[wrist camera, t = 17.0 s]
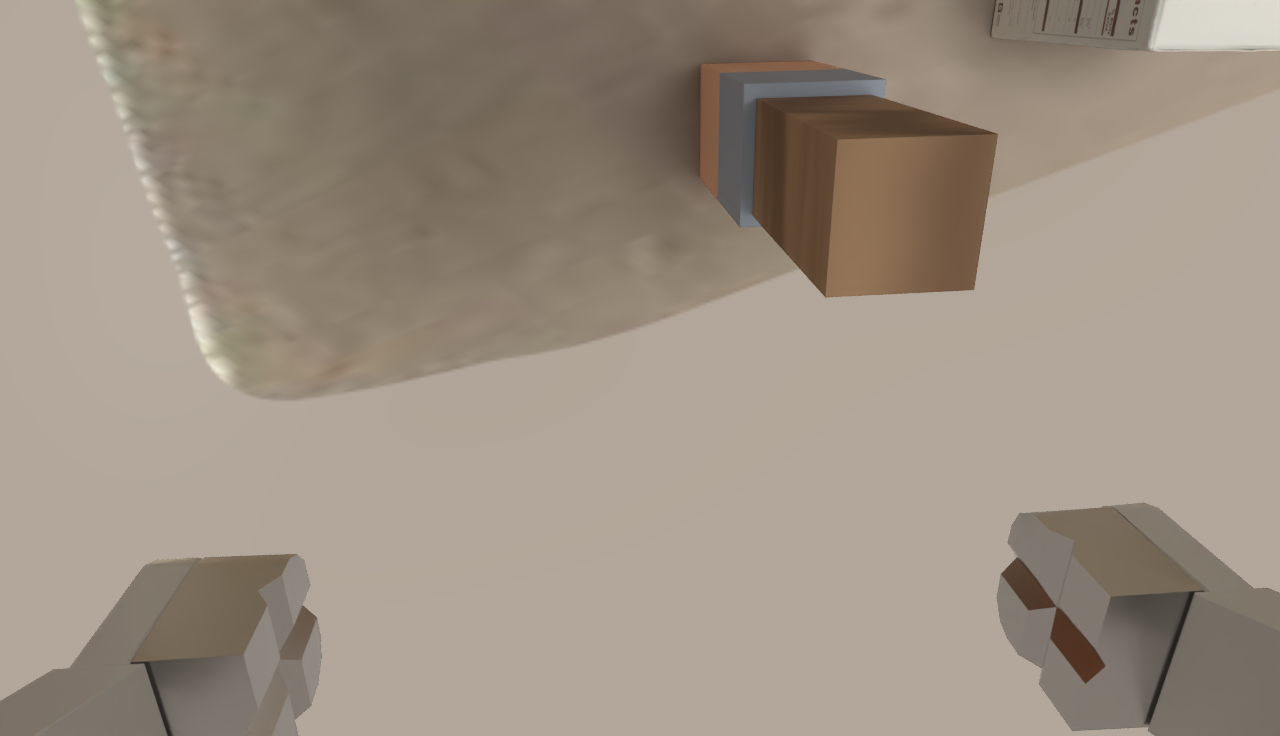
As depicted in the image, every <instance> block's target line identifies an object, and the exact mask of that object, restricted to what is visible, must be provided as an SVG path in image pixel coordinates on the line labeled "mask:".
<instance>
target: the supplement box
mask: <svg viewBox="0 0 1280 736" xmlns="http://www.w3.org/2000/svg"><path fill="white" fill-rule="evenodd" d="M991 36H992V37H993V38H997V39H1009V40H1024V41H1035V42H1045V43H1055V44H1066V45H1076V46H1086V47H1095V48H1105V49H1115V50H1129V51H1148V52H1187V51H1238V52H1253V51H1280V0H996V5H995V13H994V18H993V25H992V32H991Z"/></svg>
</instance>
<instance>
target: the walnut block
mask: <svg viewBox="0 0 1280 736" xmlns="http://www.w3.org/2000/svg"><path fill="white" fill-rule="evenodd" d="M997 137H998V134H996V133H993V132H990V131H987V130H984V129H980V128H977V127H974V126H971V125H967V124H964V123H961V122H958V121H955V120H951V119H948V118H945V117H942V116H939V115H935V114H932V113H929V112H926V111H923V110H919V109H916V108H913V107H910V106H906V105H903V104H900V103H897V102H894V101H890V100H887V99H884V98H881V97H878V96H874V95H847V96H815V97H783V98H756V124H755V151H754V178H753V205H752V216H753V217H754V218H755V219H756V220H757V221H758V222H759V224H760V225H761V226H762V227H763V228H764V229H765V230H766V231H767V232H768V234H769V235H770V236H771V237H772V238H773V239H774V240H775V241H776V243H777V244H778V245H779V246H780V247H781V248H782V249H783V250H784V252H785V253H786V254H787V255H788V256H789V257H790V258H791V259H792V260H793V262H794V263H795V264H796V265H797V266H798V267H799V268H800V269H801V271H802V272H803V273H804V274H805V275H806V276H807V277H808V278H809V280H811V282H812V283H813V284H814V285H815V286H816V287H817V288H818V289H819V290H820V292H821V293H822V294H823V295H824V296H825V297H841V296H862V295H880V294H881V295H882V294H902V293H922V292H942V291H961V290H962V291H963V290H974V286H975V280H976V273H977V267H978V260H979V254H980V247H981V241H982V234H983V228H984V221H985V214H986V208H987V202H988V195H989V189H990V182H991V176H992V169H993V163H994V157H995V150H996V144H997Z"/></svg>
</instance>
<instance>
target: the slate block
mask: <svg viewBox="0 0 1280 736" xmlns="http://www.w3.org/2000/svg"><path fill="white" fill-rule="evenodd" d="M885 86H886V79H882V78H878V77H874V76H870V75H866V74H862V73H858V72H854V71H850V70H847V69H828V70H796V71H763V72H731V73H720V104H719V161H718V200H719V202H720V203H721V204H722V205H723V207H724V208H725V209H726V210H727V212H728V213H729V214H730V215H731V217H732V218H733V219H734V220H735V222H736V223H737V224H738V225H739V227H757V226H761V225H760V224H759V222H758V221H757V220H756V219H755V218H754V217H753V216H752V205H753V178H754V151H755V124H756V98H783V97H815V96H847V95H874V96H878V97H881V98H884V96H885Z"/></svg>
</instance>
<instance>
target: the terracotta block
mask: <svg viewBox="0 0 1280 736" xmlns="http://www.w3.org/2000/svg"><path fill="white" fill-rule="evenodd" d="M828 69H843V68H839V67H835V66H831V65H827V64H823V63H819V62H815V61H788V62H754V63H719V64H701V117H700V179H701V180H702V181H703V182H704V184H705V185H706V186H707V187H708V189H709V190H710V191H711V192H712V194H713V195H714V196H715V197H716V199H718V161H719V104H720V73H731V72H763V71H796V70H828Z"/></svg>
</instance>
